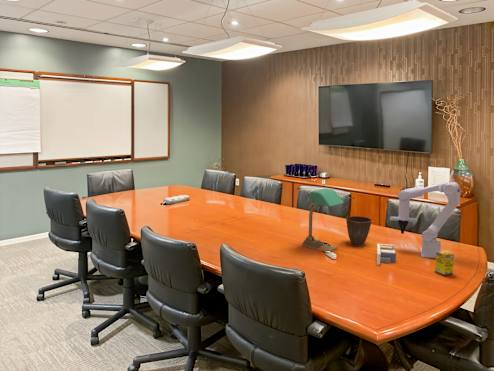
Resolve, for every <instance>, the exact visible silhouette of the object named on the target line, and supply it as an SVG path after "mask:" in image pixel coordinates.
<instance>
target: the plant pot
mask: <svg viewBox="0 0 494 371" xmlns="http://www.w3.org/2000/svg"><path fill="white" fill-rule="evenodd" d="M372 221H373V220H372V218H370V217H366V216H361V215H360V216H359V215H358V216H357V215H351V216H347V217H346V228H347V233H348V237H349V241H350V243H351V245H352V246H354V247H355V246H356V247H363V246H364V245H365V243H366V240H367V238H368V236H369V233H370V229H371V226H372Z"/></svg>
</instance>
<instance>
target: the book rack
mask: <svg viewBox="0 0 494 371" xmlns="http://www.w3.org/2000/svg"><path fill="white" fill-rule="evenodd" d="M381 249H382V250H395V245H394V244H385V243H376V265H378V266H381V263H384V264H385V263H386V264H391V262H390V261H391V258H385V257H380V255H381V253H380V250H381Z"/></svg>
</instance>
